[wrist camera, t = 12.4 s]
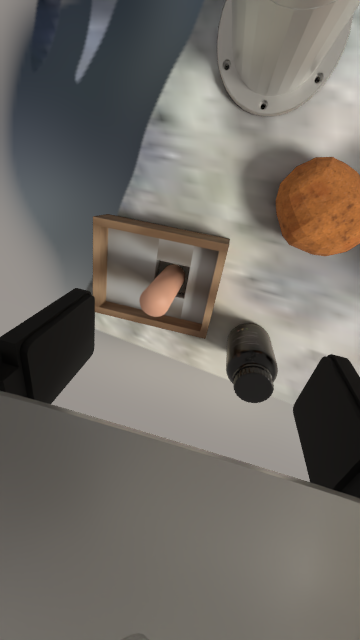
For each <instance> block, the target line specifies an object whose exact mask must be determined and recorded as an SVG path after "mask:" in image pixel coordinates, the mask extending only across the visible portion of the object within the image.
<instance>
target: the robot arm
mask: <svg viewBox="0 0 360 640" xmlns="http://www.w3.org/2000/svg"><path fill="white" fill-rule="evenodd" d="M359 4H360V0H226V2H225V5H224V7H223V10H222V14H221V19H220V23H219V28H218V38H217V57H218V65H219V71H220V74H221V78H222V82H223V84H224V86H225V88H226V90H227V92H228V94H229V95H230V97H231V98H232V99H233V101H234V102H235V103H236V104H237V105H238V106H240V107H241V108H242V109H243V110H245V111H247V112H249V113H251V114H253V115H258V116H262V117H272V116H278V115H282V114H286V113H288V112H290V111H292V110H295V109H297V108H298V107H300V106H301V105H303V104H304V103H305V102H307V101H308V100H309V99H310V98H311V97H312V96H313V95H315V94H316V93H317V92H318V91H319V90H320V88H321V87H322V86H323V85H324V84H325V82H326V81H327V80H328V78H329V77H330V75H331V74H332V72H333V71H334V69H335V68H336V66H337V64H338V62H339V60H340V58H341V56H342V54H343V52H344V49H345V46H346V43H347V40H348V37H349V34H350V29H351V24H352V19H353V13H354V12H355V10H356V9H357V7H358V6H359ZM226 66H229V69H228V70H225V67H226ZM316 78H317V79H319V83H315V79H316ZM261 105H265V109H263V110H262V109H261ZM94 330H95V297H94V296H92V295H91V292H90V291H86V290H82V289H78V288H75V289H73V290H72V291H70V292H69V293H67V294H66V295H64V296H62V297H61V298H59V299H58V300H56V301H55V302H53V303H52V304H50V305H49V306H47V307H46V308H44V309H43V310H41V311H39V312H38V313H36V314H35V315H33V316H32V317H30V318H29V319H27V320H26V321H24V322H23V323H21V324H20V325H18V326H16V327H15V328H14V329H12V330H10V331H9V332H7V333H6V334H4V335H3V336H1V337H0V640H360V377H359V375H358V374H357V372H356V370H355V369H354V367H353V366H352V364H351V363H350V361H349V360H348V359H347V358H344V357H340V356H336V355H332V354H330V355H328V356H327V357H323V358H322V359H321V360H320V362H319V364H318V365H317V367H316V369H315V370H314V372H313V374H312V375H311V377H310V379H309V380H308V382H307V384H306V385H305V387H304V389H303V390H302V392H301V394H300V395H299V397H298V399H297V400H296V402H295V404H294V407H293V413H294V418H295V422H296V426H297V430H298V434H299V438H300V442H301V446H302V450H303V454H304V458H305V462H306V466H307V471H308V475H309V479H310V482H307V481H304V480H301V479H298V478H294V477H291V476H288V475H284V474H281V473H278V472H275V471H271V470H268V469H265V468H262V467H259V466H255V465H252V464H249V463H246V462H242V461H239V460H236V459H233V458H229V457H226V456H222V455H219V454H216V453H213V452H209V451H206V450H203V449H199V448H196V447H193V446H190V445H186V444H183V443H179V442H176V441H173V440H169V439H166V438H163V437H159V436H156V435H153V434H150V433H146V432H143V431H140V430H136V429H133V428H130V427H126V426H123V425H119V424H116V423H112V422H109V421H106V420H103V419H99V418H95V417H92V416H89V415H86V414H82V413H79V412H75V411H72V410H69V409H65V408H62V407H58V406H55V405H51V403H52V402H53V401H54V400H55V399H56V397H57V396H58V395H59V394H60V393H61V391H62V390H63V389H64V388H65V387H66V385H67V384H68V383H69V382H70V381H71V379H72V378H73V377H74V376H75V375H76V373H77V372H78V371H79V370H80V369H81V368H82V366H83V365H84V364H85V363H86V362H87V360H88V359H89V358H90V357H91V355H92V354H93V351H94Z"/></svg>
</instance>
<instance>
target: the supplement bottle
mask: <svg viewBox="0 0 360 640" xmlns="http://www.w3.org/2000/svg"><path fill="white" fill-rule="evenodd" d="M226 371H227V375H228V378H229V379H230V381H231V382H232V383H233V384H234V390H235V393H236V394H237V396H239V398H241V399H242V400H244V401H246V402H251V403H258V402H262V401H264V400H267V399H268V398H269V397H270V396H271V394H272V393H273V390H274V388H273V386H274V385H273V382H274V380H275V379H276V376H277V372H278V368H277V363H276V359H275V355H274V352H273V348H272V344H271V341H270V337H269V335H268V333H267V332H266V331H265V330H264V329H263V328H262V327H260V326H258V325H256V324H242V325H239V326H237V327H235V328H234V329H233V330H232V331H231V332H230V334H229V336H228V340H227V360H226Z"/></svg>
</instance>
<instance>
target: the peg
mask: <svg viewBox="0 0 360 640" xmlns="http://www.w3.org/2000/svg"><path fill="white" fill-rule="evenodd" d="M184 280H185V273H184V271H183V269H182V268H181V267H180V266H178V265H174V264H172V265H168V266H167V267H166V268H165V269H164V270H163V271H162V272H161V273H160V274H159V275H158V276H157V277H156V278H155V279H154V281H153V282H152V283H151V284H150V285H149V286H148V287H147V288H146V289H145V290H144V291H143V292H142V294H141V296H140V299H139V302H140V306H141V308H142V310H143V311H144V312H145V313H146V314H148V315H150V316H153V317H159V316H162V315H164V314H165V313H166V312H167V311H168V309H169V307H170V305H171V303H172V302H173V300H174V298H175V296H176V295H177V293H178V291H179V289H180V288H181V286H182V284H183V282H184Z"/></svg>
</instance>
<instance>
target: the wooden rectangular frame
mask: <svg viewBox="0 0 360 640" xmlns="http://www.w3.org/2000/svg"><path fill="white" fill-rule="evenodd" d="M229 241H230V239H227V238H222V237H217V236H212V235H207V234H202V233H198V232H193V231H188V230H183V229H178V228H173V227H168V226H163V225H159V224H154V223H149V222H144V221H139V220H134V219H129V218H124V217H120V216H115V215H110V214H106V215H100V216H94V217H93V296H94V297H95V312H97V313H101V314H105V315H109V316H114V317H118V318H122V319H126V320H130V321H134V322H138V323H142V324H146V325H151V326H155V327H159V328H163V329H167V330H171V331H175V332H179V333H183V334H188V335H192V336H196V337H200V338H204V339H205V338H206V334H207V330H208V327H209V323H210V319H211V315H212V311H213V307H214V303H215V299H216V295H217V291H218V287H219V283H220V279H221V275H222V271H223V267H224V263H225V259H226V255H227V251H228V247H229ZM160 261H165V262H170V263H174V264H179V265H183V266H188V267H190V271H189V276H188V282H187V287H186V292H185V294H183V293H179V292H178V293H177V295H176V296H175V298H174V300H173V302H172V303H171V305H170V307H169V309H168V311H167V312H166V313H165V314H164V315H162V316H159V317H153V316H150V315H148V314H146V313H145V312H144V311H143V310H142V308H141V306H140V302H139V299H140V296H141V294H142V292H143V291H144V290H145V289H146V288H147V287H148V286H149V285H150V284H151V283H152V282H153V281H154V279H155V278H156V277H157V276H158V270H159V262H160Z"/></svg>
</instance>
